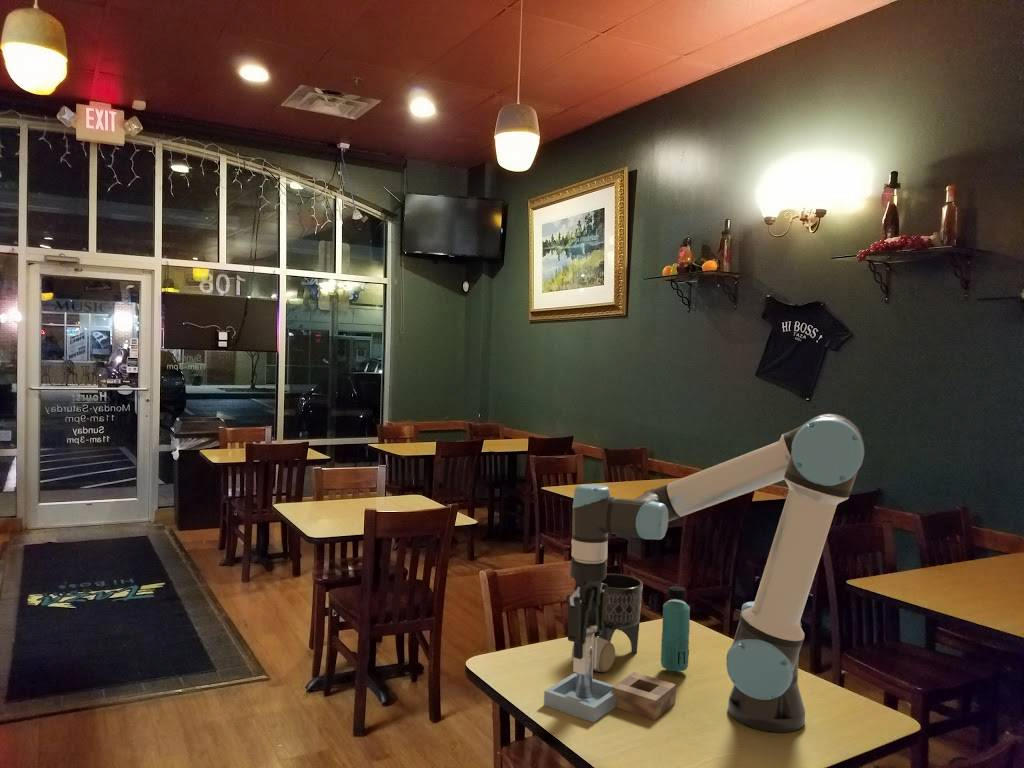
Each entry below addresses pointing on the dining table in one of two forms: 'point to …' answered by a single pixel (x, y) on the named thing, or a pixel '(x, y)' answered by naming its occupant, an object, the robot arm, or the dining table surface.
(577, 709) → the tray
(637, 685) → the block
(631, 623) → the planter
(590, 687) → the pin
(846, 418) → the robot arm
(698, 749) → the dining table surface
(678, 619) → the beverage bottle
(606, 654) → the ceramic mug
